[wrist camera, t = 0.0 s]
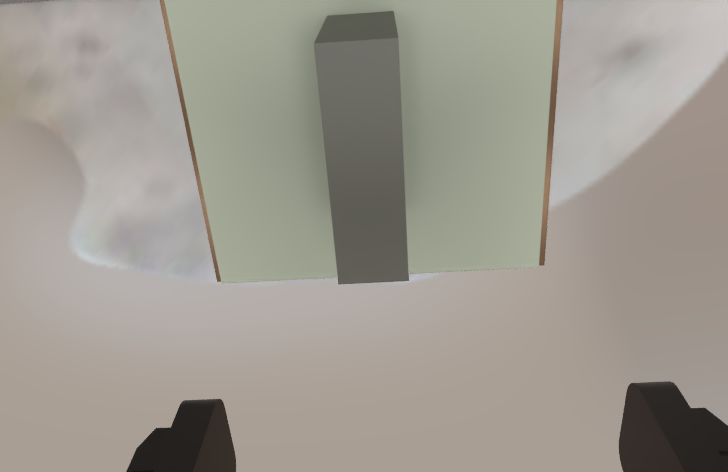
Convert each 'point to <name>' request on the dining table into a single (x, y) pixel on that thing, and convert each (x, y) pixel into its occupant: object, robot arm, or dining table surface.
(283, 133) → the lid
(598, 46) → the dining table surface
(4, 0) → the mat
